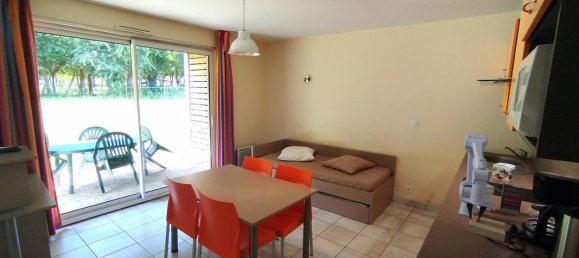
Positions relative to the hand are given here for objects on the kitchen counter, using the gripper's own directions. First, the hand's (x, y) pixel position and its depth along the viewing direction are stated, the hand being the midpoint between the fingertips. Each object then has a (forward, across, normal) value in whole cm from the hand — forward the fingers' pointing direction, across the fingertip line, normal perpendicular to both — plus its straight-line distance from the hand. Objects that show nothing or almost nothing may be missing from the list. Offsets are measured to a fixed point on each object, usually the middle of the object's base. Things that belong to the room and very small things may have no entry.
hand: (474, 219), depth 132 cm
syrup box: (+4, +2, +30) cm, 30 cm away
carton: (+4, +5, 0) cm, 7 cm away
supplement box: (+4, +14, +36) cm, 39 cm away
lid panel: (+1, +5, 0) cm, 5 cm away
